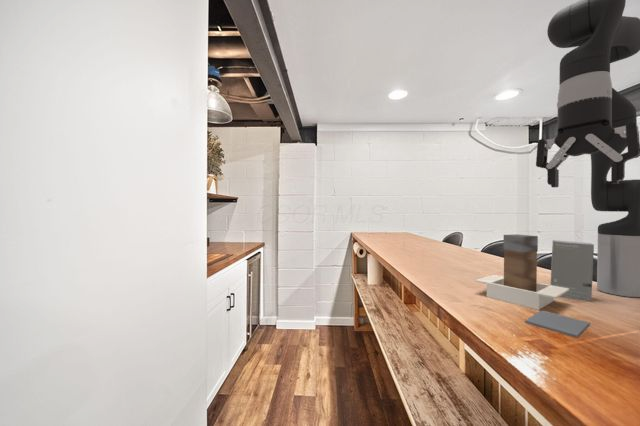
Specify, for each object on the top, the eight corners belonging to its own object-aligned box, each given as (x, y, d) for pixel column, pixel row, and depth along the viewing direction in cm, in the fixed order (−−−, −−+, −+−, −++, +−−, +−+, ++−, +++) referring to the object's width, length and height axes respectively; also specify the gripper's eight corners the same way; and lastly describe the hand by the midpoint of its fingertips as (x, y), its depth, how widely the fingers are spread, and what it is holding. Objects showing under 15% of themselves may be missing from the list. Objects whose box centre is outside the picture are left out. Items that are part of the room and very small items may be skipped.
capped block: (517, 294, 74) (517, 234, 73) (537, 300, 69) (537, 236, 68) (503, 296, 72) (503, 234, 72) (522, 302, 67) (522, 236, 67)
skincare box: (550, 297, 73) (551, 241, 73) (550, 291, 79) (550, 238, 78) (594, 304, 68) (594, 243, 68) (590, 297, 73) (591, 241, 73)
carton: (493, 289, 81) (493, 274, 81) (569, 306, 67) (569, 288, 66) (475, 296, 74) (475, 280, 74) (555, 316, 60) (555, 296, 60)
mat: (541, 314, 61) (541, 310, 61) (589, 327, 55) (589, 322, 55) (524, 325, 55) (524, 320, 55) (576, 340, 49) (576, 335, 49)
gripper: (643, 94, 48) (642, 183, 48) (544, 117, 60) (543, 188, 60) (637, 83, 44) (636, 181, 44) (531, 110, 55) (531, 187, 56)
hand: (582, 185), depth 52 cm, fingers open, 8 cm apart
